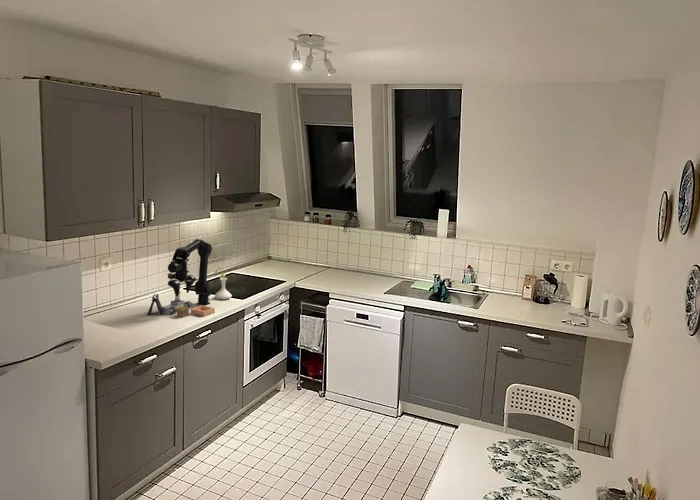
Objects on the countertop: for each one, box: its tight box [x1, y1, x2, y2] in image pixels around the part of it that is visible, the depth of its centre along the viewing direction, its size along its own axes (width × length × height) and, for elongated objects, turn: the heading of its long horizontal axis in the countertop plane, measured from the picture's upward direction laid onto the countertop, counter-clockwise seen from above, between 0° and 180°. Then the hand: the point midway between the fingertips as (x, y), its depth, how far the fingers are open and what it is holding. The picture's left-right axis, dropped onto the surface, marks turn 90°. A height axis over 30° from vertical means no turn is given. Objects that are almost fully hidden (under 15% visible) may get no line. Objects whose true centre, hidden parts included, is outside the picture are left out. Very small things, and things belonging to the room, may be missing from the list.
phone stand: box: [146, 293, 164, 316], centre depth 329 cm, size 9×6×12 cm, turn 101°
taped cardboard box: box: [176, 305, 190, 318], centre depth 328 cm, size 5×5×6 cm
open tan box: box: [190, 305, 216, 318], centre depth 335 cm, size 10×10×3 cm
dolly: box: [162, 299, 193, 315], centre depth 338 cm, size 16×9×6 cm, turn 155°
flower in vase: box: [214, 262, 232, 300], centre depth 368 cm, size 13×11×25 cm
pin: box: [173, 290, 181, 302], centre depth 339 cm, size 4×4×8 cm
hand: (182, 294), depth 331 cm, fingers open, 9 cm apart
